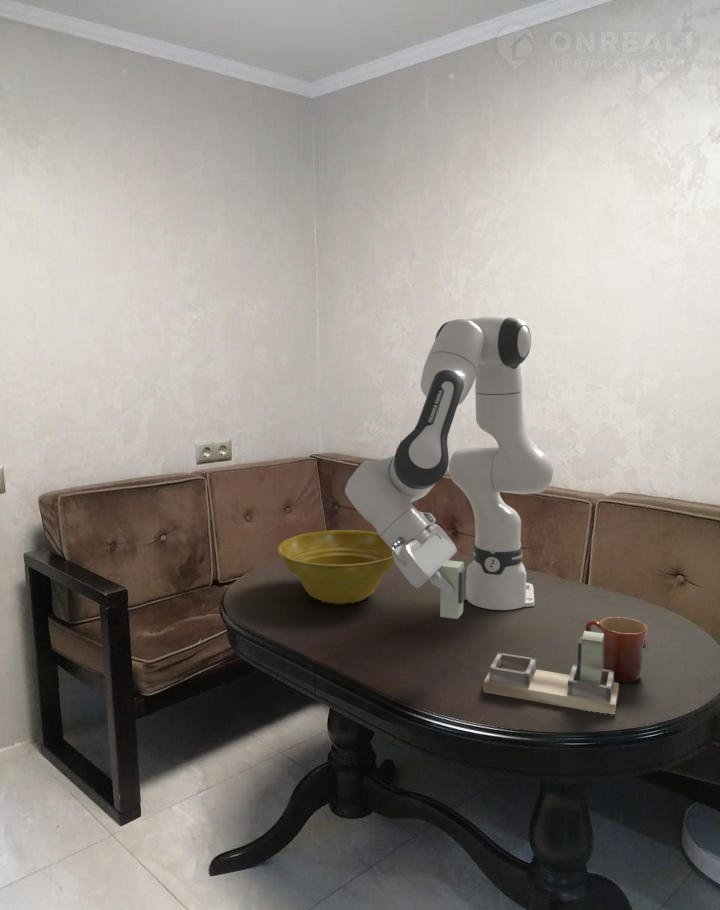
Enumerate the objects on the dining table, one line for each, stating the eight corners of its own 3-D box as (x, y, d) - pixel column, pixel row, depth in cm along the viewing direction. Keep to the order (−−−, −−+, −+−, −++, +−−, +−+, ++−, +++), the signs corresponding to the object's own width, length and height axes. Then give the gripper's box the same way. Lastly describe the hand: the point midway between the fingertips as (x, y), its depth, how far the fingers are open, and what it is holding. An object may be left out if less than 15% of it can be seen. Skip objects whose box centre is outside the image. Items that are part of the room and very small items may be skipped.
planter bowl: (371, 627, 165) (371, 570, 164) (253, 606, 179) (252, 553, 177) (421, 585, 194) (422, 537, 192) (316, 570, 208) (316, 525, 206)
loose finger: (446, 609, 141) (446, 560, 140) (466, 612, 140) (466, 562, 138) (440, 616, 138) (440, 565, 136) (460, 619, 136) (461, 568, 135)
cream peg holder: (494, 672, 142) (495, 613, 140) (618, 693, 133) (621, 630, 131) (483, 692, 134) (484, 630, 132) (614, 715, 125) (618, 649, 123)
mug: (653, 675, 140) (655, 625, 139) (632, 690, 134) (635, 637, 132) (595, 657, 148) (597, 609, 147) (573, 670, 142) (575, 620, 141)
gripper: (399, 535, 130) (451, 595, 127) (433, 511, 148) (479, 562, 146) (376, 557, 132) (427, 615, 130) (412, 530, 151) (458, 581, 148)
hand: (455, 587), depth 138 cm, fingers closed on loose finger, 4 cm apart
